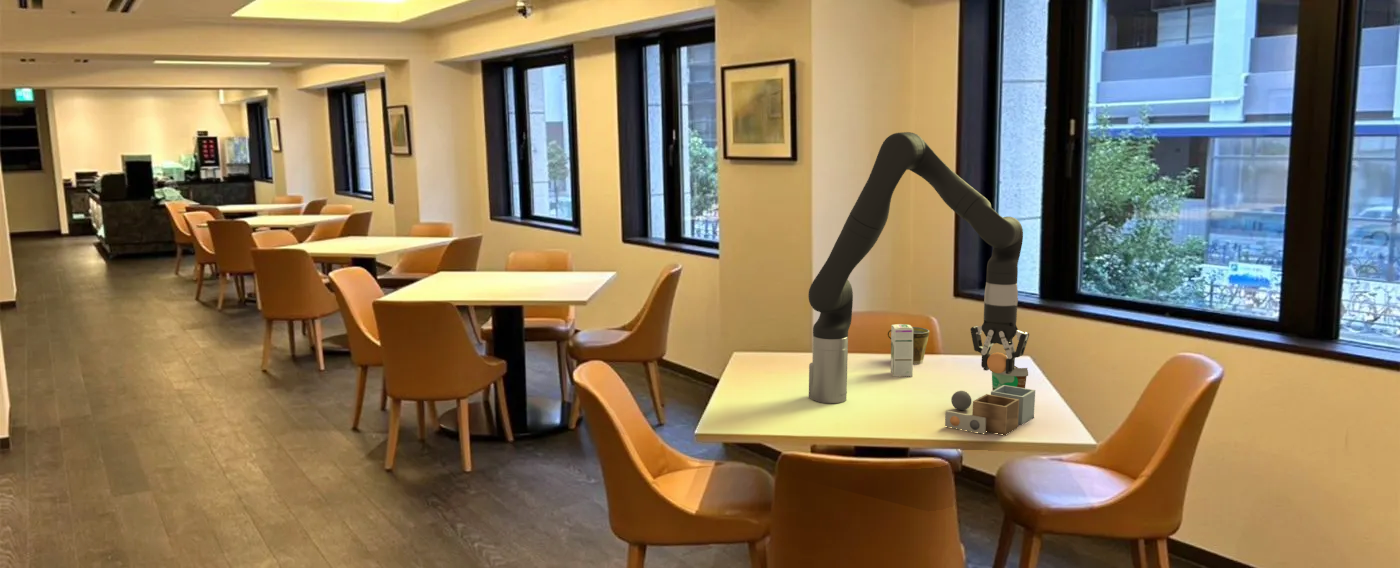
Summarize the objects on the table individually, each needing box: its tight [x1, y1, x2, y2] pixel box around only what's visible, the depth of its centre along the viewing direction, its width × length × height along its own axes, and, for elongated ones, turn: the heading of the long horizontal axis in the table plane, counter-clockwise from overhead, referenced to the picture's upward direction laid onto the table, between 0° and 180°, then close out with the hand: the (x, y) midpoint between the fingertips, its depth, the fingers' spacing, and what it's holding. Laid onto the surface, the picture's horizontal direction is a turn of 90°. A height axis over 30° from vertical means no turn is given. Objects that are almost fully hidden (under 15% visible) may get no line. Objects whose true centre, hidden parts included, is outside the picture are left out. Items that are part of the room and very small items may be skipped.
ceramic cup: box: [887, 326, 930, 365], centre depth 312 cm, size 13×10×10 cm
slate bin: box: [990, 385, 1036, 426], centre depth 253 cm, size 8×8×7 cm
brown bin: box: [971, 393, 1019, 436], centre depth 244 cm, size 8×8×7 cm
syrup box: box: [890, 323, 914, 378], centre depth 296 cm, size 6×6×14 cm
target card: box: [944, 410, 987, 435], centre depth 243 cm, size 10×1×4 cm, turn 52°
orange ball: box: [987, 351, 1008, 373], centre depth 242 cm, size 5×5×5 cm
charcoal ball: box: [951, 390, 972, 411], centre depth 260 cm, size 5×5×5 cm
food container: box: [988, 365, 1029, 391], centre depth 269 cm, size 12×6×10 cm, turn 21°
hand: (997, 371), depth 243 cm, fingers closed on orange ball, 5 cm apart
